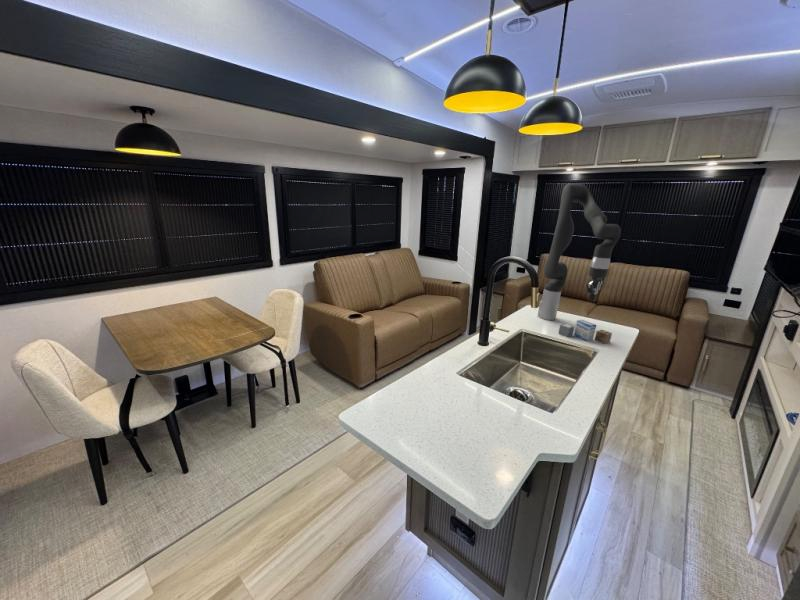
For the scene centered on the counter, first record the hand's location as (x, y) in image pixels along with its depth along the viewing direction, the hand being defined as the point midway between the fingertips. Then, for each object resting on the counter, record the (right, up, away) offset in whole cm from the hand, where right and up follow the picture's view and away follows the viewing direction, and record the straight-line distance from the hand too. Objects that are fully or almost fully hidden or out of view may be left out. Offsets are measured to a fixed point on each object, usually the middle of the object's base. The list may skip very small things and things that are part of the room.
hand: (591, 301), depth 158 cm
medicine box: (-1, -19, +6) cm, 20 cm away
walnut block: (+7, -20, +3) cm, 22 cm away
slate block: (-8, -18, +9) cm, 22 cm away
